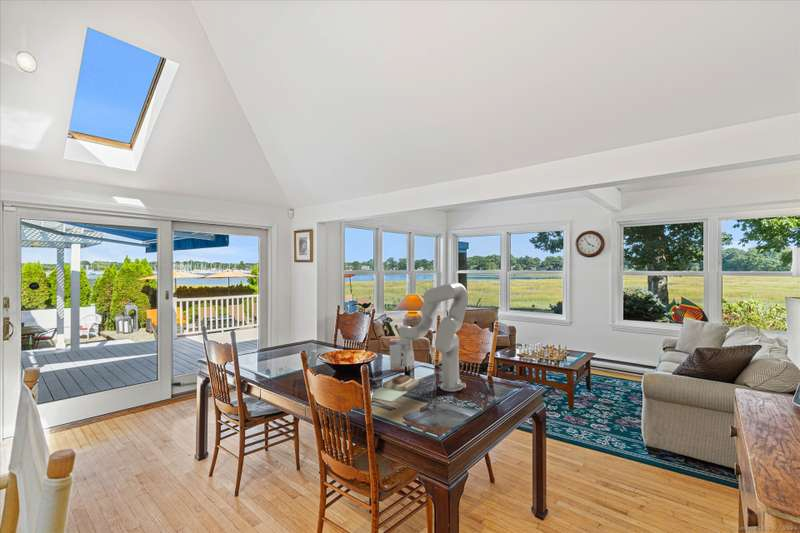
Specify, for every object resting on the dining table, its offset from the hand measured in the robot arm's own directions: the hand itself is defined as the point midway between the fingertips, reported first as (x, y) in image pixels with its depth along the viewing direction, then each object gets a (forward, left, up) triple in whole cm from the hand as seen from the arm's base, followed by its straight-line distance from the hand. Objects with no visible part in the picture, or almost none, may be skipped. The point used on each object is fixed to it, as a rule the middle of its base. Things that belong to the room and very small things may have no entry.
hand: (407, 376), depth 227 cm
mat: (0, +23, -3) cm, 23 cm away
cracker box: (+17, -20, -3) cm, 26 cm away
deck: (0, +7, -3) cm, 8 cm away
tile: (0, +7, -1) cm, 7 cm away
